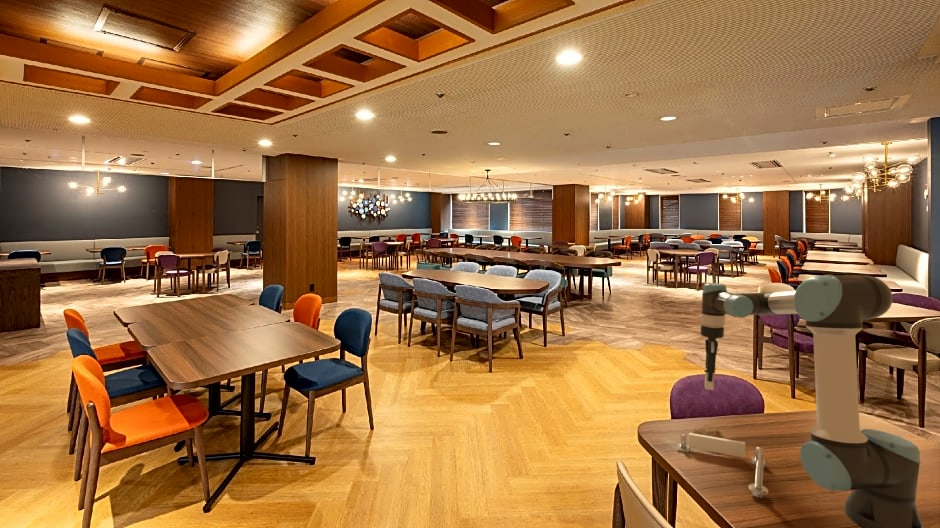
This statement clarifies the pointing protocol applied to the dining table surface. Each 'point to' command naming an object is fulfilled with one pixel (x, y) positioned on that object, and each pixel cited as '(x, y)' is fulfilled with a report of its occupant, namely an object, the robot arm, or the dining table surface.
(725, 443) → the gate
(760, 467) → the screw
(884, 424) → the dining table surface
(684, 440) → the grey small pieces
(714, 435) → the bread roll
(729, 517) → the dining table surface
